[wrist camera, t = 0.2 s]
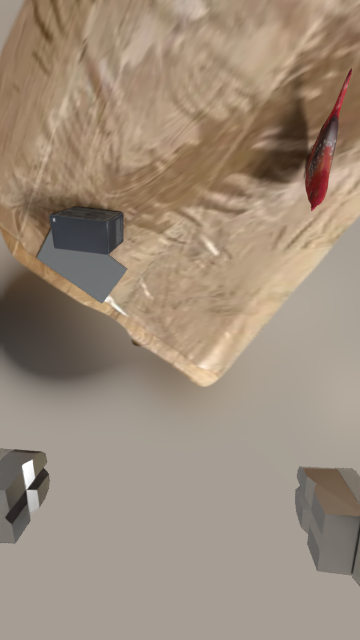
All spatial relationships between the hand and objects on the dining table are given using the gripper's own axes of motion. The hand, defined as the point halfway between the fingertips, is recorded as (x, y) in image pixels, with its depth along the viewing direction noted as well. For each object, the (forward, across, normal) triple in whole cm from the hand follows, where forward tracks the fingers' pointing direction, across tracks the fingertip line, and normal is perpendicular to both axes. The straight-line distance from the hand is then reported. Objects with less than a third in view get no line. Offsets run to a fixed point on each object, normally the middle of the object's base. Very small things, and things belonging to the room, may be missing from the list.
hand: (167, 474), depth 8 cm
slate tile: (+54, +27, -6) cm, 61 cm away
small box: (+51, +21, -14) cm, 57 cm away
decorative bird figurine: (+45, -20, -25) cm, 56 cm away
